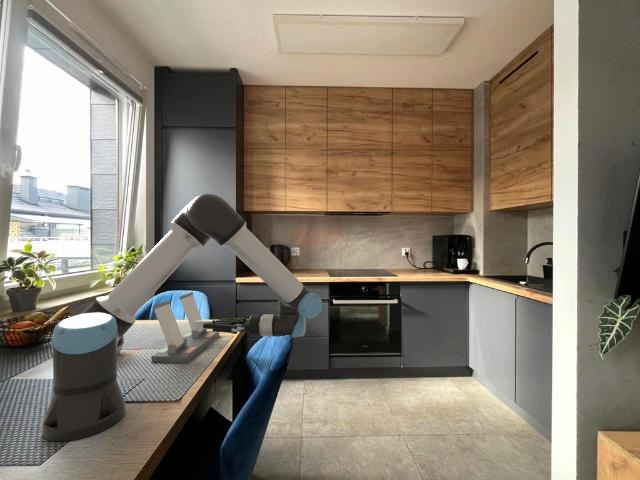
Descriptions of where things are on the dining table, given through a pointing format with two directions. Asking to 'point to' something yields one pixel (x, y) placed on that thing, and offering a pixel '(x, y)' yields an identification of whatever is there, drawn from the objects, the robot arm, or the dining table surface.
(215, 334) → the switch base
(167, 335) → the near lever
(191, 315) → the far lever
